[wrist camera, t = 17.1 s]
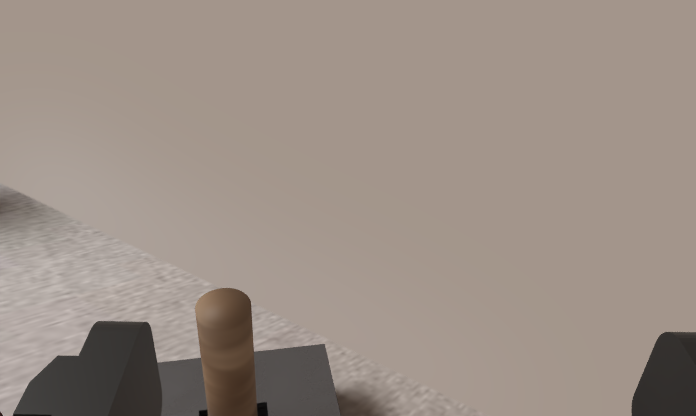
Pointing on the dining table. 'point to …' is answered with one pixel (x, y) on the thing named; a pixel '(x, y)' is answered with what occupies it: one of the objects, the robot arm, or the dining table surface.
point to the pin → (227, 352)
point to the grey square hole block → (259, 384)
